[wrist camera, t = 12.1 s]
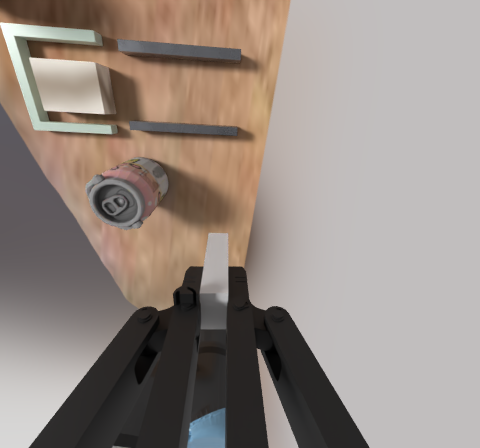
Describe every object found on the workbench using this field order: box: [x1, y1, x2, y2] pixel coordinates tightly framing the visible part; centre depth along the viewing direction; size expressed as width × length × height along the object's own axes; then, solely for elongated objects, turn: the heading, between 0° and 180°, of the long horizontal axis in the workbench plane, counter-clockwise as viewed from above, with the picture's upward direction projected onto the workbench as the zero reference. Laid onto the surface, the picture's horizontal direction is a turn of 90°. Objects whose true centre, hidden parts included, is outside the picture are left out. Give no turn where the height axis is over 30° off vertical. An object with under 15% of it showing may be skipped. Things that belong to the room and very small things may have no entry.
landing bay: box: [0, 23, 118, 134], centre depth 32 cm, size 12×11×2 cm
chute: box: [117, 39, 241, 136], centre depth 33 cm, size 11×16×2 cm
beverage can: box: [86, 157, 168, 230], centre depth 34 cm, size 9×8×12 cm
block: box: [29, 58, 116, 114], centre depth 32 cm, size 6×8×4 cm
